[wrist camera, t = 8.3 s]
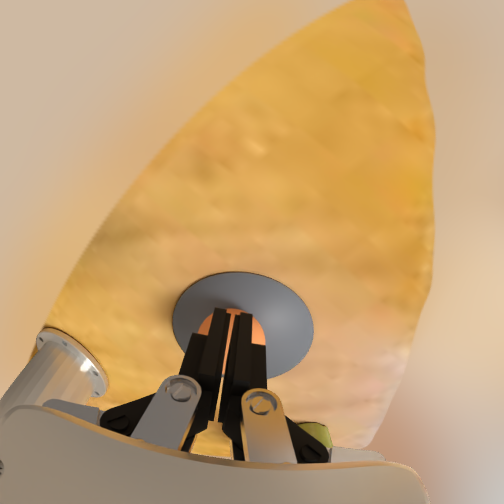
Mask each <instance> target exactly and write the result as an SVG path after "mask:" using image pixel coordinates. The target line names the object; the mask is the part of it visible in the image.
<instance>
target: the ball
mask: <svg viewBox="0 0 504 504" xmlns="http://www.w3.org/2000/svg"><path fill="white" fill-rule="evenodd" d="M240 312H244V313H247V312H245V311H243V310H239V309H233V308H228V309H227V313H231V318H230V325H229V331H228V338H227V344H226V351H225V357H224V364H223V371H222V374H224V373H225V366H226V359H227V354H228V349H229V343H230V338H231V333H232V328H233V323H234V317H235V314H237V315H240ZM212 316H213V313H212V314H211V315H210V316H208V317H207V318H206V319H205V320H204V322H203V323H202V324H201V326H200V328H199V331H198V334H203V335H208V332H209V328H210V324H211V320H212ZM252 343H254V344H261V345H265V335H264V331H263V329H262V327H261V325H260V323H259V322H258V321H257V320H256V319H255V318H254V317H253V322H252Z"/></svg>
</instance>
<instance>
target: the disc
mask: <svg viewBox="0 0 504 504" xmlns="http://www.w3.org/2000/svg"><path fill="white" fill-rule="evenodd" d="M215 307H216V308H222V309H228V308H233V309H239V310H243V311H245V312H247V313H250V314H253V317H254V318H255V319H256V320H257V321H258V322H259V323H260V325H261V327H262V329H263V331H264V335H265V346H266V368H267V379H269V378H273V377H276V376H279V375H281V374H283V373H285V372H287V371H289V370H291V369H292V368H294V367H295V366H296V365H297V364H298V363H300V362H301V360H302V359H303V358H304V357H305V356H306V354H307V352H308V351H309V349H310V346H311V344H312V340H313V333H314V329H313V321H312V318H311V314H310V312H309V310H308V308H307V306H306V305H305V303H304V302H303V301H302V299H301V298H300V297H299V296H298V295H297V294H296V293H295V292H293V291H292V290H291V289H290V288H288V287H287V286H285V285H283V284H282V283H280V282H278V281H276V280H274V279H271V278H268V277H265V276H262V275H258V274H253V273H245V272H228V273H221V274H216V275H213V276H209V277H207V278H204V279H202V280H200V281H198V282H197V283H195V284H193V285H192V286H191V287H190V288H188V289H187V290H186V291H185V292H184V294H183V295H182V296H181V298H180V299H179V301H178V302H177V305H176V307H175V310H174V314H173V330H174V334H175V337H176V339H177V342H178V344H179V345H180V347H181V349H182V350H183V351H184V353H186V350H187V347H188V344H189V341H190V337H191V335H192V333H198V331H199V328H200V326H201V324H202V323H203V322H204V320H205V319H206V318H207V317H208V316H210V315H211V314H212V313H214V309H215ZM222 377H224V374H222Z"/></svg>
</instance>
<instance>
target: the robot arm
mask: <svg viewBox="0 0 504 504" xmlns="http://www.w3.org/2000/svg"><path fill="white" fill-rule="evenodd" d="M230 318H231V313H227V309H222V308H216V307H215V309H214V313H213V316H212V320H211V324H210V328H209V332H208V335H203V334H198V333H192V335H191V337H190V341H189V344H188V347H187V350H186V353H185V356H184V359H183V362H182V365H181V368H180V372H179V375H174V376H170V377H168V378H166V379H165V380H164V381H163V382H162V384H161V386H160V387H159V389H158V391H157V392H156V393H154V394H151V395H149V396H146V397H143V398H140V399H138V400H135V401H132V402H129V403H126V404H123V405H120V406H117V407H114V408H111V409H109V410H107V411H101V410H100V409H99V408H97V407H91V406H86V403H87V402H88V400H89V398H90V397H101V396H103V395H104V394H105V392H106V391H107V389H108V380H107V377H106V375H105V373H104V371H103V369H102V368H101V366H100V365H99V363H98V362H97V361H96V360H95V358H94V357H93V356H92V355H91V354H90V353H89V352H88V351H87V350H86V349H85V348H84V347H83V346H82V345H81V344H79V343H78V342H77V341H75V340H74V339H73V338H71V337H70V336H68V335H67V334H65V333H63V332H61V331H59V330H56V329H52V328H45V329H43V330H42V331H41V332H40V333H39V334H38V335H37V338H36V344H37V348H38V352H37V353H36V354H35V356H34V357H33V358H32V359H31V360H30V362H29V363H28V364H27V365H26V367H25V368H24V369H23V370H22V372H21V373H20V374H19V376H18V377H17V378H16V379H15V381H14V382H13V383H12V385H11V386H10V387H9V389H8V390H7V391H6V393H5V394H4V395H3V397H2V398H1V400H0V504H431V502H430V499H429V496H428V493H427V491H426V488H425V486H424V484H423V482H422V480H421V478H420V476H419V475H418V474H417V472H415V470H413V469H412V468H410V467H408V466H405V465H403V464H399V463H394V462H387V461H386V460H385V458H384V457H383V455H382V454H380V453H379V452H376V451H367V450H358V449H350V448H342V447H335V446H332V447H331V448H327V447H325V446H324V445H323V444H322V443H321V442H319V441H318V440H317V439H315V438H314V437H313V436H311V435H310V434H309V433H307V432H306V431H305V430H303V429H302V428H301V427H299V426H298V425H297V424H295V423H294V422H293V421H292V420H290V419H289V418H288V417H287V416H285V415H284V411H283V407H282V403H281V401H280V399H279V397H278V396H277V395H276V394H275V393H273V392H271V391H269V390H267V368H266V346H265V345H261V344H254V343H252V322H253V314H250V313H244V312H240V315H237V314H235V317H234V323H233V328H232V333H231V338H230V343H229V349H228V354H227V359H226V366H225V373H224V380H223V387H222V394H221V402H220V409H219V416H218V422H221V423H223V425H222V430H223V432H224V433H225V434H226V435H227V436H228V437H229V438H230V452H231V460H230V459H222V458H215V457H209V456H203V455H198V454H192V453H191V450H192V448H193V445H194V443H195V440H196V438H197V434H198V433H200V432H201V431H203V430H205V429H207V425H208V420H209V421H214V416H215V410H216V405H217V399H218V394H219V388H220V383H221V377H222V371H223V364H224V357H225V351H226V344H227V338H228V331H229V325H230Z"/></svg>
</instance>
